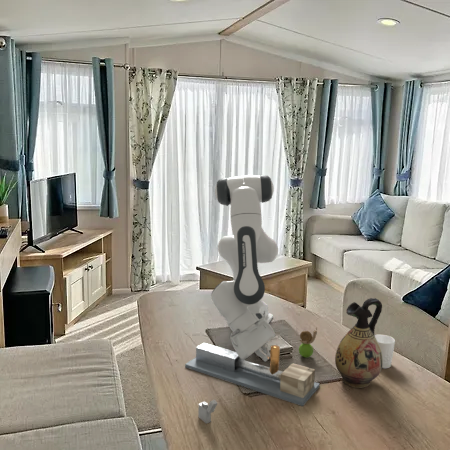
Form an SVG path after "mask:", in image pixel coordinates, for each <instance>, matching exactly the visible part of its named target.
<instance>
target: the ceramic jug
mask: <svg viewBox="0 0 450 450" xmlns="http://www.w3.org/2000/svg"><path fill="white" fill-rule="evenodd" d="M372 305H374V306H375V309H374V312H373V313H372V312H371V310H370V309H369V307H370V306H372ZM345 311H346V314H347V315H348V316H350V317H353V318H356V319H357V321H356V323H355V325H354V326H352V327H351V328H350V330H348V332H346V334H345V335H344V336H343V338H342V339H341V341H340V343H339V344H338V346H337V349H336V352H335V355H334V360H335V361H334V362H335V366H336V369H337V372H338V373H339V374H340V377H342V382H343V383H345V384H346V386H349V387H352V388H358V389H359V388H366V387H368V386H369V385H370V384H371V383H372V381H373V380H375V379H376V378H377V377H379V375H380V374H381V372H382V369H383V368H382V364H383V359H382V352H381V349H380V346H379V344H378V342H377V340H376V338H375V336H374V335H375V329H376V325H377V323H378V320H379V318H380V316H381V313H382V311H383V305H382V302H381V300H379V299H377V298H375V297H373V298H372V297H370V298H367V299H365V301H363V304H362V306H361V305H360V304H358V303H357V302H356V301H354V302H352V303H350V304H349V305H348V306H347V308H346V310H345ZM369 318H370V322H369V320H368V319H369Z"/></svg>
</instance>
